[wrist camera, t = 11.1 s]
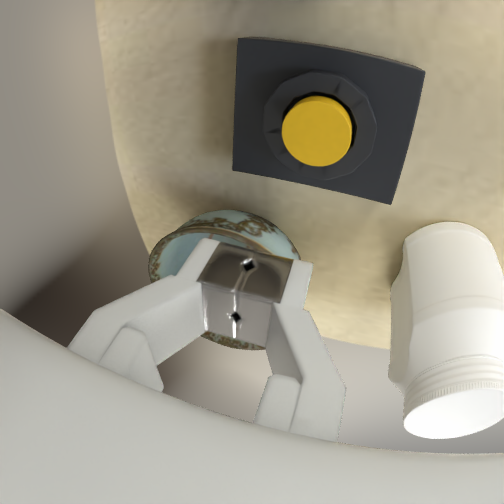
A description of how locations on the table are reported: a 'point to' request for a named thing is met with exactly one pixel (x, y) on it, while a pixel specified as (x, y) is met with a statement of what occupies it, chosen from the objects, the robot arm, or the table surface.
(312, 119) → the cylinder
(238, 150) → the trigger housing
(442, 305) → the jar
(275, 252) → the bowl
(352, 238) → the table surface
